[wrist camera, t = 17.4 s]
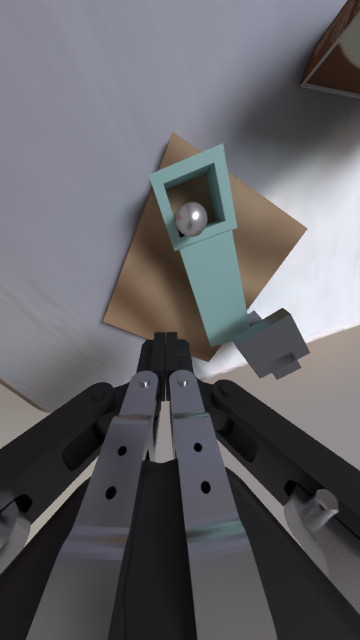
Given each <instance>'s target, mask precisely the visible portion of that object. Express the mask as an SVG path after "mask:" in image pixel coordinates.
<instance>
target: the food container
mask: <svg viewBox="0 0 360 640" xmlns="http://www.w3.org/2000/svg"><path fill="white" fill-rule="evenodd" d="M299 87H302V88H308V89H313V90H318V91H323V92H328V93H333V94H338V95H343V96H348V97H353V98H359V99H360V0H348V1H347V2H346V3H345V5H344V6H343V8H342V9H341V11H340V12H339V13H338V15H337V16H336V18H335V19H334V21H333V22H332V23H331V25H330V26H329V28H328V29H327V31H326V32H325V33H324V35H323V36H322V38H321V39H320V41H319V42H318V44H317V46H316V48H315V50H314V51H313V53H312V55H311V57H310V59H309V62H308V64H307V66H306V69H305V71H304V74H303V77H302V80H301V83H300V86H299Z"/></svg>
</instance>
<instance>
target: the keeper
mask: <svg viewBox="0 0 360 640" xmlns="http://www.w3.org/2000/svg"><path fill="white" fill-rule="evenodd" d="M248 321H249V326H250V327H249V328H248V329H246V330H244V331H243V332H241V333H239V334H238V335H236V336H234V337H233V338H232V340H233V342H234V344H235V346H236V347H237V349H238V350H239V351H240V353H241V354H242V355H243V357H244V358H245V359H246V361H247V362H248V363H249V365H250V366H251V367H252V368H253V370H254V371H255V373H256V374H257V375H258V377H259V378H262V377H264V376H266V375H268V374H270V373H273V375H274V376H275V378H276V379H277V380H278V379H279V378H282V377H284V376H286V375H288V374H290V373H292V372H294V371H296V370H298V369H300V368H301V366H300V364H299V363H298V361H297V359H299V358H301V357H303V356H305V355H307V354H309V353H310V352H309V350H308V348H307V346H306V344H305V342H304V340H303V338H302V336H301V334H300V332H299V330H298V328H297V326H296V324H295V322H294V320H293V318H292V316H291V314H290V313H289V312H287V311H286V310H285V309H284V308H281V309H280V310H278V311H276V312H275V313H273V314H271V315H270V316H268V317H266V318H265V319H263V320H262V319H261V317H260V316H259V315H258V314H257V313H256V312H255V311H253V312H252V313H250V314H248Z"/></svg>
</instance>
